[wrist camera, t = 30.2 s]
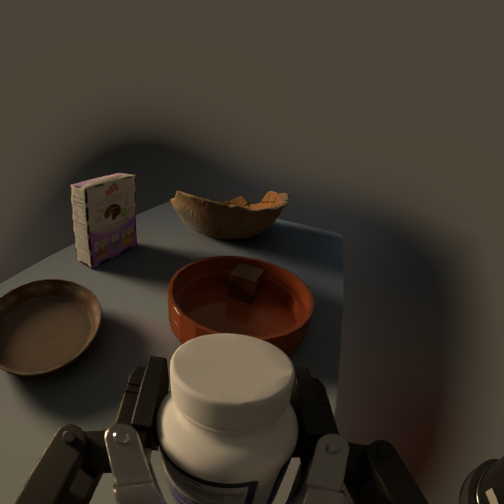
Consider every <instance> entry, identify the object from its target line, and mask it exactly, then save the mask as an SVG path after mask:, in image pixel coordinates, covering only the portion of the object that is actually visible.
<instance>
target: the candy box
mask: <svg viewBox="0 0 504 504" xmlns="http://www.w3.org/2000/svg"><path fill="white" fill-rule="evenodd" d="M135 188H136V176H135V175H131V174H124V173H116V174H112V175H108V176H104V177H99V178H95V179H91V180H87V181H84V182H80V183H76V184H72V185H71V204H72V217H73V228H74V236H75V245H76V252H77V259H78V261H80V262H81V263H83V264H85V265H86V266H88V267H90V268H91V269H92V268H95V267H97V266H98V265H100V264H102V263H104V262H106V261H108V260H109V259H111V258H113V257H115V256H117V255H119V254H121V253H123V252H125V251H126V250H128V249H130V248H132V247H134V246H136V245H137V237H136V196H135V194H136V191H135V190H136V189H135Z"/></svg>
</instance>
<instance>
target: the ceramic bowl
mask: <svg viewBox="0 0 504 504" xmlns="http://www.w3.org/2000/svg"><path fill="white" fill-rule="evenodd" d="M288 199H289V195H288V194H287V193H281V194H279V193H277V192H273V191H270V192H268V193H267V194H266V196H265V197H264V198H263V199H262V201H261V203H260V204H252V205H251V204H249V202H248V201H247V200H246V199H245V198H244V197H242V196H241V197H238V198H236V199H233V200H231V201H230V202H229V201H225V202H223V201H221V202H218V201H212V200H208V199H204V198H200V197H196V196H194V195H190V194H187V193H184V192H181V191H177V193H176V196H175V199H173V198H172V199H171V203H172V206H173V208H174V209H175V211H176V213H177V214H178V215H179V217H180V218H181V220H182V221H183V222H184V223H186V224H187V225H188V226H189V227H191V228H192V229H194V230H195V231H197V232H199V233H201V234H204V235H207V236H211V237H214V238H218V239H225V240H229V239H230V240H232V239H242V238H250V237H252V236H254V235H257V234H259V233H261V232H263V231H264V230H266V229H267V228H268V227H270V226H271V225H272V224H273V223H274V222H275V221H276V219H277V217H278V216H279V215H280V213H281V211H282V208H284V207H285V206H286V205H287V204H288V203H289V202H288Z"/></svg>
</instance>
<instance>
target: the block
mask: <svg viewBox="0 0 504 504" xmlns="http://www.w3.org/2000/svg"><path fill="white" fill-rule="evenodd" d="M263 274H264V269H260V268H257V267H253V266H250V265H246V264H242V263H239V264H238V265H237V267H236V268H235V269H234V270H233V271H232V272H231V273H230V278H229V287H228V297H230V298H233V299H237V300H240V301H243V302H246V303H249V304H253V303H254V301H255V300H256V298H257V296H258V295H259V293H260V291H261V286H262V280H263Z"/></svg>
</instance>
